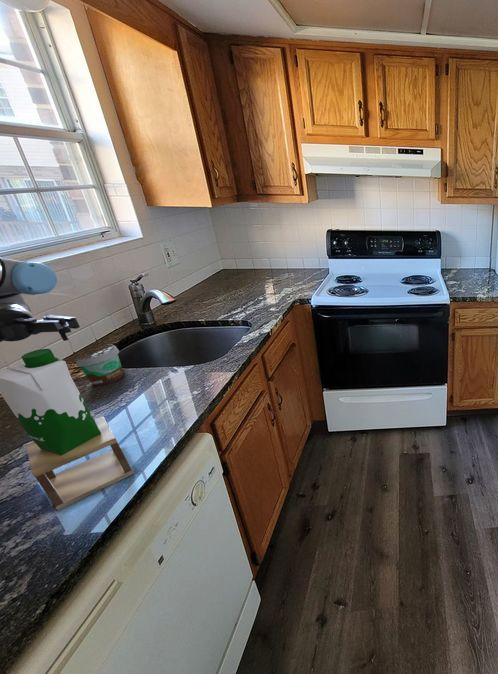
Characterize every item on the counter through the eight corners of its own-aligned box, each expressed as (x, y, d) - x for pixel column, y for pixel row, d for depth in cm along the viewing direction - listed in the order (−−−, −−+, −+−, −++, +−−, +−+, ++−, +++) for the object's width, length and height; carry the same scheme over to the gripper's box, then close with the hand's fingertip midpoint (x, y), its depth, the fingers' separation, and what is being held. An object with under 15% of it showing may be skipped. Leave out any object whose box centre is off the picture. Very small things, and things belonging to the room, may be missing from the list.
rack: (49, 480, 81) (25, 445, 76) (120, 449, 89) (102, 415, 85) (57, 510, 73) (31, 473, 69) (134, 473, 82) (115, 437, 78)
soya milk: (108, 431, 80) (65, 350, 71) (57, 460, 72) (2, 373, 63) (83, 424, 82) (38, 345, 74) (30, 451, 74) (-26, 366, 66)
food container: (108, 388, 116) (94, 360, 111) (88, 388, 116) (74, 361, 111) (138, 368, 127) (126, 342, 122) (120, 369, 127) (108, 343, 122)
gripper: (87, 321, 97) (104, 341, 84) (-65, 356, 79) (-72, 388, 67) (74, 294, 93) (90, 311, 81) (-87, 324, 76) (-98, 351, 64)
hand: (17, 345), depth 74 cm, fingers open, 13 cm apart
